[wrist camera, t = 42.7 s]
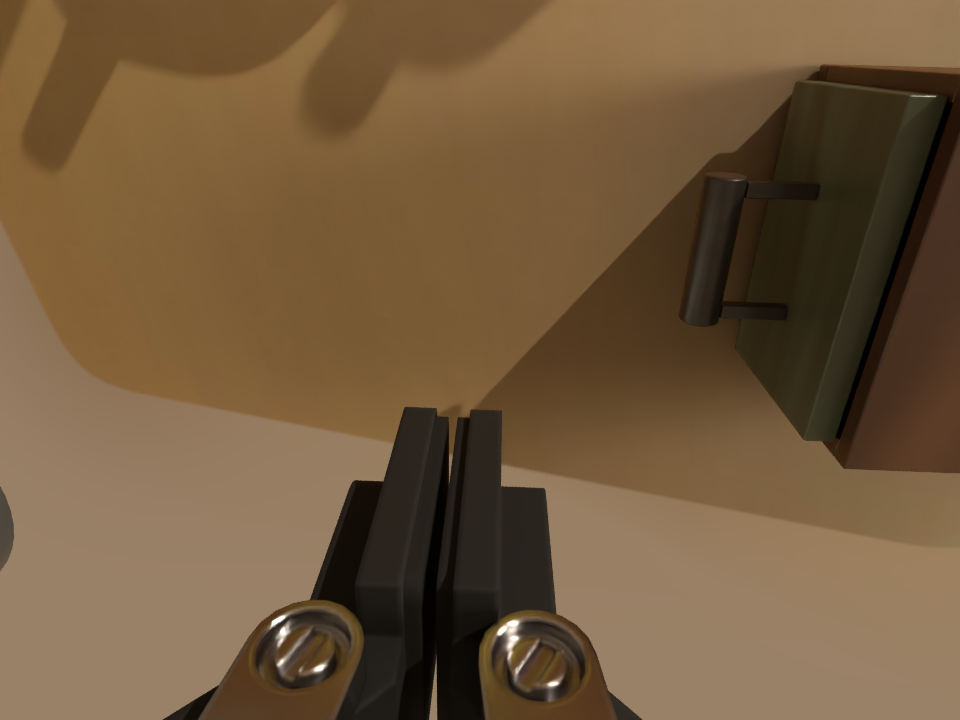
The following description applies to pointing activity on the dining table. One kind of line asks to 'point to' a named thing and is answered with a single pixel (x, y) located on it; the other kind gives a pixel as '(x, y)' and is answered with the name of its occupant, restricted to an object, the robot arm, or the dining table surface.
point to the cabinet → (913, 312)
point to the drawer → (817, 242)
